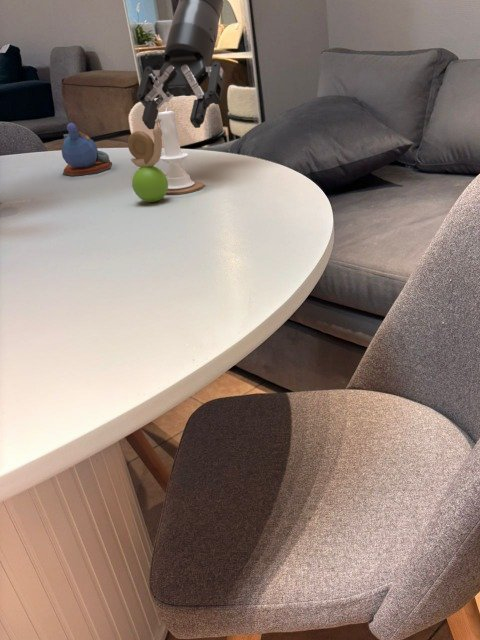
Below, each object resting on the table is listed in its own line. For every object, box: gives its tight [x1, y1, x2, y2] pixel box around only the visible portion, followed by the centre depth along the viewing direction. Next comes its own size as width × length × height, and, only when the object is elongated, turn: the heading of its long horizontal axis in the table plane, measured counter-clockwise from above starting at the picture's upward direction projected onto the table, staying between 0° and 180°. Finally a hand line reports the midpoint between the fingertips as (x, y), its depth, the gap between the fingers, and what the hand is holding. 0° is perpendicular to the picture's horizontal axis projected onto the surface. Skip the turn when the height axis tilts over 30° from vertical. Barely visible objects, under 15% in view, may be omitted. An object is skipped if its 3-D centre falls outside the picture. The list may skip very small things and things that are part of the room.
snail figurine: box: [127, 118, 168, 203], centre depth 97 cm, size 5×6×12 cm
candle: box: [157, 107, 195, 189], centre depth 104 cm, size 5×5×12 cm
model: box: [61, 122, 113, 177], centre depth 126 cm, size 12×9×9 cm
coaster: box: [165, 180, 205, 196], centre depth 107 cm, size 8×8×1 cm
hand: (171, 125), depth 102 cm, fingers open, 8 cm apart
